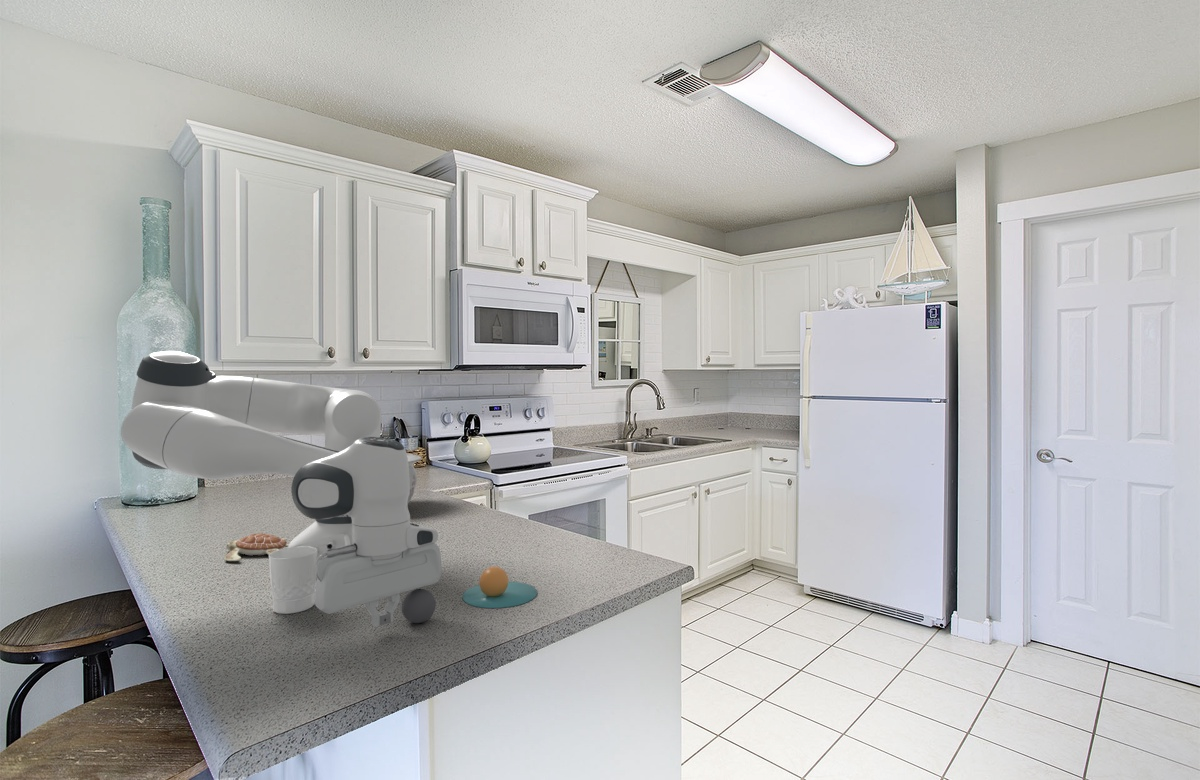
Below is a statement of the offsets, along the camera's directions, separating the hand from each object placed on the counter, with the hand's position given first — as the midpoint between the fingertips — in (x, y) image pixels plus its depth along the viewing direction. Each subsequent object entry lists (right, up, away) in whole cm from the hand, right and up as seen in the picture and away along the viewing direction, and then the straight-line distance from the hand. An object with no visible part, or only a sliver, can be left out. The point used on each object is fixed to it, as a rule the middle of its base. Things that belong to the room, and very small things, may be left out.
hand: (382, 624), depth 97 cm
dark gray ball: (+4, +1, +5) cm, 7 cm away
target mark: (+16, -1, +18) cm, 24 cm away
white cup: (-20, -2, +12) cm, 24 cm away
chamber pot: (-35, -1, +93) cm, 99 cm away
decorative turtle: (-47, -2, +48) cm, 67 cm away
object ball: (+15, +1, +17) cm, 23 cm away
